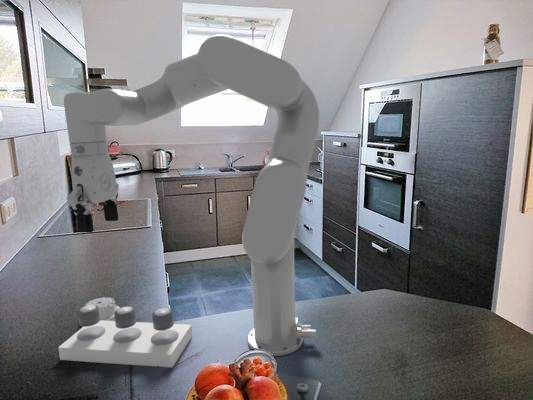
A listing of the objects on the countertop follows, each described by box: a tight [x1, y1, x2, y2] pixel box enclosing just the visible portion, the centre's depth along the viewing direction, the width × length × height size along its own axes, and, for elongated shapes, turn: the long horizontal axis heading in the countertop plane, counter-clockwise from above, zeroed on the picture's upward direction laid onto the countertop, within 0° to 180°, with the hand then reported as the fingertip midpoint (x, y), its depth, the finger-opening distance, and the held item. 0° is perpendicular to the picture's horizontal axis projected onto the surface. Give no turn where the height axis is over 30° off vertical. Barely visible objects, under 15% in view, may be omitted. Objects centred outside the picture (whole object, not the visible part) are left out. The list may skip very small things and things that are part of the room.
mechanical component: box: [83, 296, 121, 321], centre depth 102 cm, size 10×4×10 cm
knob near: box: [151, 307, 175, 331], centre depth 85 cm, size 4×4×3 cm
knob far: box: [77, 305, 100, 327], centre depth 88 cm, size 4×4×3 cm
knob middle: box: [114, 306, 137, 329], centre depth 86 cm, size 4×4×3 cm
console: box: [58, 320, 193, 368], centre depth 87 cm, size 26×12×3 cm, turn 81°
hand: (99, 225), depth 87 cm, fingers open, 9 cm apart
